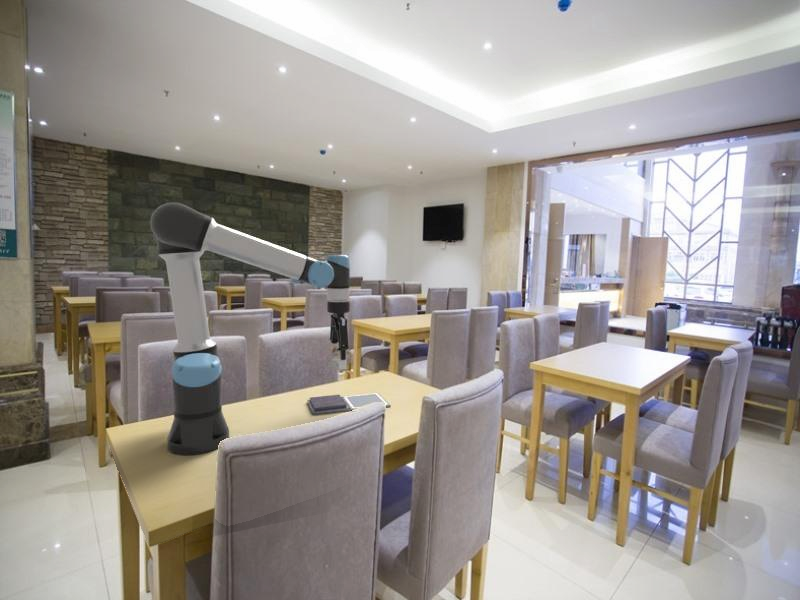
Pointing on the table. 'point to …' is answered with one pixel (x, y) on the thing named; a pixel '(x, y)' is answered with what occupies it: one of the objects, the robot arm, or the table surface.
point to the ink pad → (327, 404)
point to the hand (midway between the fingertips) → (338, 365)
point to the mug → (334, 359)
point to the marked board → (363, 400)
